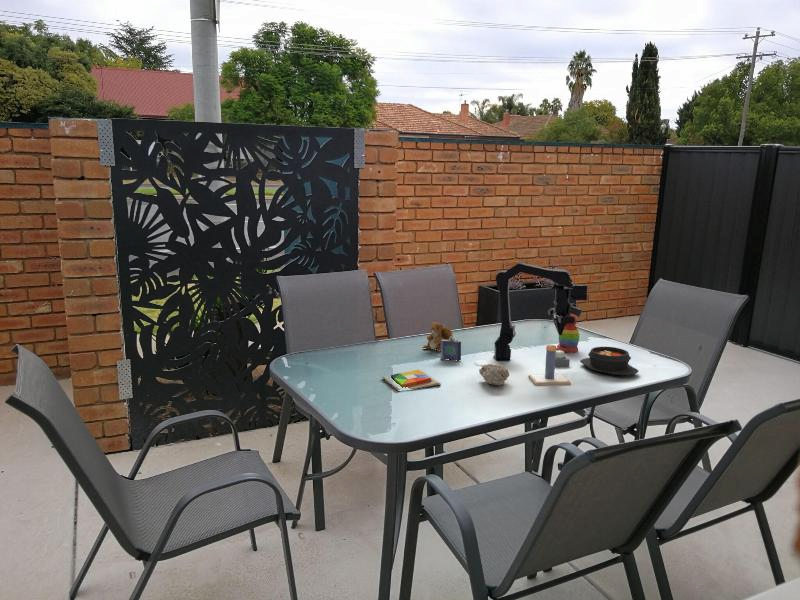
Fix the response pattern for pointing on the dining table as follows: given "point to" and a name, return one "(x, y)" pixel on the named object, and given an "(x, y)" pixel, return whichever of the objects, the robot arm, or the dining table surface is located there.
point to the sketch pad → (550, 380)
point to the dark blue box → (451, 349)
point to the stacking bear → (569, 338)
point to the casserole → (609, 361)
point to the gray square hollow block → (562, 361)
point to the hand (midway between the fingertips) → (560, 335)
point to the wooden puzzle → (412, 379)
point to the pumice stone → (494, 374)
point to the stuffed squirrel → (437, 336)
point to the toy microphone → (550, 361)
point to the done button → (559, 354)
